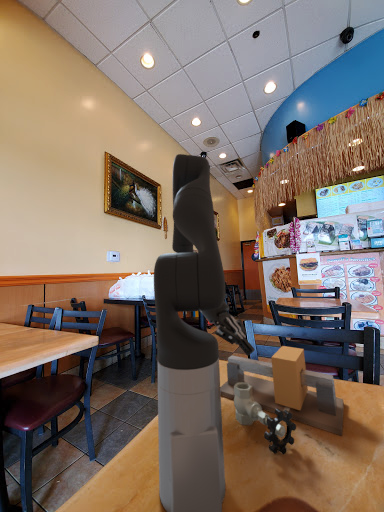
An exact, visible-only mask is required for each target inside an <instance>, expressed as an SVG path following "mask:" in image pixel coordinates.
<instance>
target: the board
mask: <svg viewBox="0 0 384 512" xmlns="http://www.w3.org/2000/svg"><path fill="white" fill-rule="evenodd" d="M244 382H245V383H248V384H250V385H251V386H252V390H253V395H252V397H253V399H254V401H255V402H257V403H258V404H260V405H261V407H262V411H263V410H264V411H267V412H270V413H272V414H275V415H277V414H276V413H275V409H276V408H278V409H280V410H281V411H283V413H284V410H287V411H289V412H290V413H291V414H292V418H291V420H292V421H293V420H294V421H297V422H299V423H303V424H306V425H307V426H311V427H315V428H317V429H320V430H324V431H326V432H329V433H332V434H334V435H338V436H343V428H344V426H343V424H344V423H343V422H344V406H345V405H344V402H345V401H344V398H340V397H337V396H336V403H337V410H336V416H333V415H330V414H327V413H323V412H320V411H318V402H317V393H316V391H312V390H308V391H307V394H306V397H305V399H304V402H303V405H302V407H301V410H297V409H293V408H290V407H287V406H284V405H280V404H277V403H275V395H274V382H273V380H272V381H271V380H269V379H264V378H260V377H256V376H252V375H248V374H245V373H244ZM220 392H221V397H225V398H229V399H231V400H234V397H235V394H234V386H232V385H228V380H227V381H225V383H223V384H222V385H220ZM284 416H285V413H284Z"/></svg>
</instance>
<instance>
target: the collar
mask: <svg viewBox="0 0 384 512" xmlns="http://www.w3.org/2000/svg"><path fill="white" fill-rule="evenodd" d="M271 363H272V370H273V378H272V381H273V382H274V395H275V403H277V404H280V405H284V406H287V407H290V408H293V409H297V410H301V407H302V405H303V402H304V399H305V397H306V394H307V391H308V388H309V386H305V385H301V377H300V371H301V369H303V370H307V368H306V367H307V366H306V360H305V349H304V348H299V347H292V346H285V345H282V346H281V347H279V348H278V350H277V351H276V352H274V354H273V355H272V356H271Z"/></svg>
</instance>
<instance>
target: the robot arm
mask: <svg viewBox="0 0 384 512" xmlns="http://www.w3.org/2000/svg"><path fill="white" fill-rule="evenodd" d="M172 165H173V166H172V181H171V182H172V221H173V231H172V232H173V234H172V251H173V252H171V253H170V252H169V253H168V252H167V253H162V254H160V255H159V256H158V257H157V258H156V260H155V263H154V267H153V293H154V294H153V295H154V304H155V305H154V307H155V323H156V327H155V328H156V346H157V347H156V350H157V351H156V352H157V417H158V420H157V421H158V422H157V423H158V425H157V426H158V431H157V432H158V467H159V468H158V473H159V474H158V476H159V477H158V479H159V480H158V484H159V493H158V494H159V499H160V502H161V505H162V507H163V508H164V509H165V511H166V512H223V502H224V500H225V495H226V476H225V475H226V473H225V472H226V471H225V455H224V439H223V438H224V437H223V436H224V435H223V434H224V433H223V416H222V415H223V414H222V395H221V392H220V387H221V373H220V372H221V371H220V355H219V354H220V352H219V343H218V339H217V337H215V335H216V336H218V337H219V338H220V339H223V340H225V341H226V342H228V343H229V344H231V345H238V346H239V348H240V349H241V350H242V351H243V352H244V354H246V355H245V356H248V357H249V356H251V354H252V353H254V352H255V347H254V346H253V344H251V343H250V342H249V341H248V339H246V335H247V334H248V333H247V331H246V328H245V326H244V323H243V321H242V319H240V318H238V319H235V318H234V316H233V315H232V314H230V312H229V310H230V306H229V304H228V303H226V301H225V298H226V280H225V278H226V277H225V272H224V267H223V261H222V258H221V254H220V248H219V245H218V239H217V235H216V234H217V233H216V225H215V210H214V203H213V197H212V192H211V178H210V177H211V176H210V175H211V167H210V162H209V160H208V159H207V158H206V157H204V156H202V155H200V156H198V155H194V154H193V155H191V154H182V153H180V154H179V153H178V154H176V155H175V157H174V159H173V164H172ZM194 248H195V249H196V250H197V251H194ZM180 312H186V313H187V312H200V313H201V314H202V316H204V317H205V319H206V320H207V322H208V323H209V324H212V325H213V324H214V326H215V327H216V330H215V331H214V334H215V335H213V334H211V333H209V332H207V331H205V330H201V329H198V328H196V327H193V326H192V325H190V324H188V323H187V322H185V321H184V320H183V319H182V318H181V317H180V315H179V313H180Z"/></svg>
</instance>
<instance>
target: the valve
mask: <svg viewBox="0 0 384 512" xmlns="http://www.w3.org/2000/svg"><path fill="white" fill-rule="evenodd" d="M234 394H235V397H234V399H233V405H234V408H235V411H234V412H235V420H236V422H238V423H239V424H240V425H242V426H252V425H253V423H254V422H257V421H259V422H260V423H261V424H262V425H263V426H266V427H267V429H268V431H269V432H267V430H266V431H265V432H264V433H263V437H264V439H265V440H266V441H267V442H268V443H272V444H268V449H269V451H270V452H271V453H272V454H275V455H276V454H277V453H278V452H280V454H282V455H286V454H287V451H288V450H287V445H288V444H289V445H290V446H293V445H294V443H295V438H294V436H292V432H296V430H297V424H296V422H294V421H293V420H292V419H291V418H292V414H291V413H290V412H289V411H287V410H284V413H285V416H284V413H283V411H281V410H280V409H278V408H276V409H275V413H276V414H275V413H274V414H275V415H276V416H275V418H274V417H271V416H270V414H268V413H266V412H265V411H263V409H262V407H261V405H260V404H258V403H257V402H255V401H254V399H253V397H252V395H253V390H252V386H251V385H250V384H248V383H245V382H239V383H236V384H235V386H234ZM291 420H292V421H291ZM282 422H284V423H285V425H286V427H285V426H284V425H282ZM279 437H280V438H283V439H280V438H279Z"/></svg>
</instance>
